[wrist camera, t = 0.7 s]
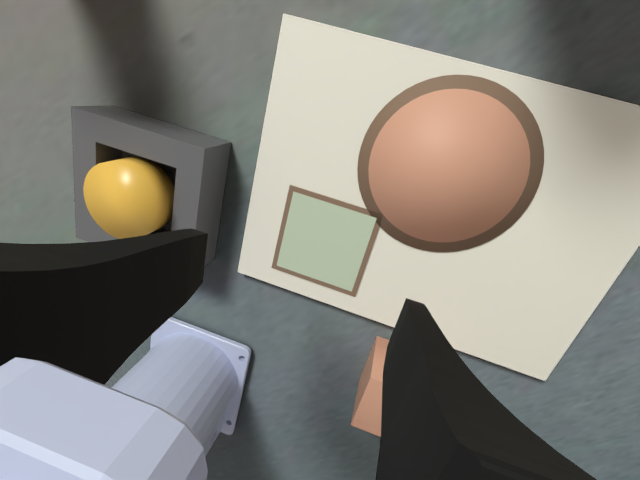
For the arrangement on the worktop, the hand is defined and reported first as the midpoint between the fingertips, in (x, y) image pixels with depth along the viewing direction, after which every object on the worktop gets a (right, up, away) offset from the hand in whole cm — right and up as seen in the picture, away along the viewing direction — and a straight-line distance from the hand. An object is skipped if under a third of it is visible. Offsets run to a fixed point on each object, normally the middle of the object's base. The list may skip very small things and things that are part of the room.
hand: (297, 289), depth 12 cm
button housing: (-9, +5, +11) cm, 15 cm away
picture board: (+7, +3, +8) cm, 11 cm away
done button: (-10, +4, +9) cm, 14 cm away
